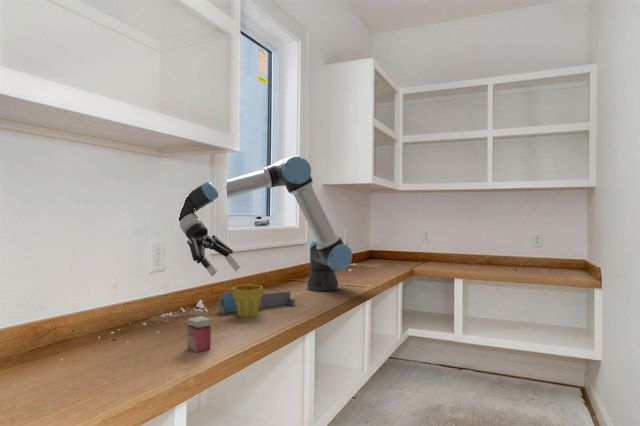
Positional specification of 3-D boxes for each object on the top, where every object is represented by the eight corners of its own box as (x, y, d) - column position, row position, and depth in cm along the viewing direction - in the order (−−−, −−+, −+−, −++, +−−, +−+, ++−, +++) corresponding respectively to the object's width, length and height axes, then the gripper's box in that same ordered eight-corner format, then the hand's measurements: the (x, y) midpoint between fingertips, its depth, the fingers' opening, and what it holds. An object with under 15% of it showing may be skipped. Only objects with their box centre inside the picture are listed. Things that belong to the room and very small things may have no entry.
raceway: (289, 303, 163) (289, 285, 163) (295, 305, 159) (295, 287, 159) (219, 311, 149) (219, 292, 149) (223, 314, 144) (223, 294, 144)
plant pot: (247, 320, 137) (247, 290, 137) (226, 315, 143) (226, 287, 143) (268, 314, 145) (268, 286, 145) (248, 310, 152) (248, 283, 152)
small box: (186, 348, 108) (186, 318, 108) (201, 344, 111) (201, 315, 111) (196, 353, 105) (196, 321, 105) (211, 349, 108) (211, 318, 108)
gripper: (209, 234, 166) (241, 273, 160) (163, 237, 144) (197, 283, 137) (220, 221, 164) (252, 260, 158) (174, 222, 141) (210, 268, 135)
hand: (227, 271), depth 148 cm, fingers open, 13 cm apart
